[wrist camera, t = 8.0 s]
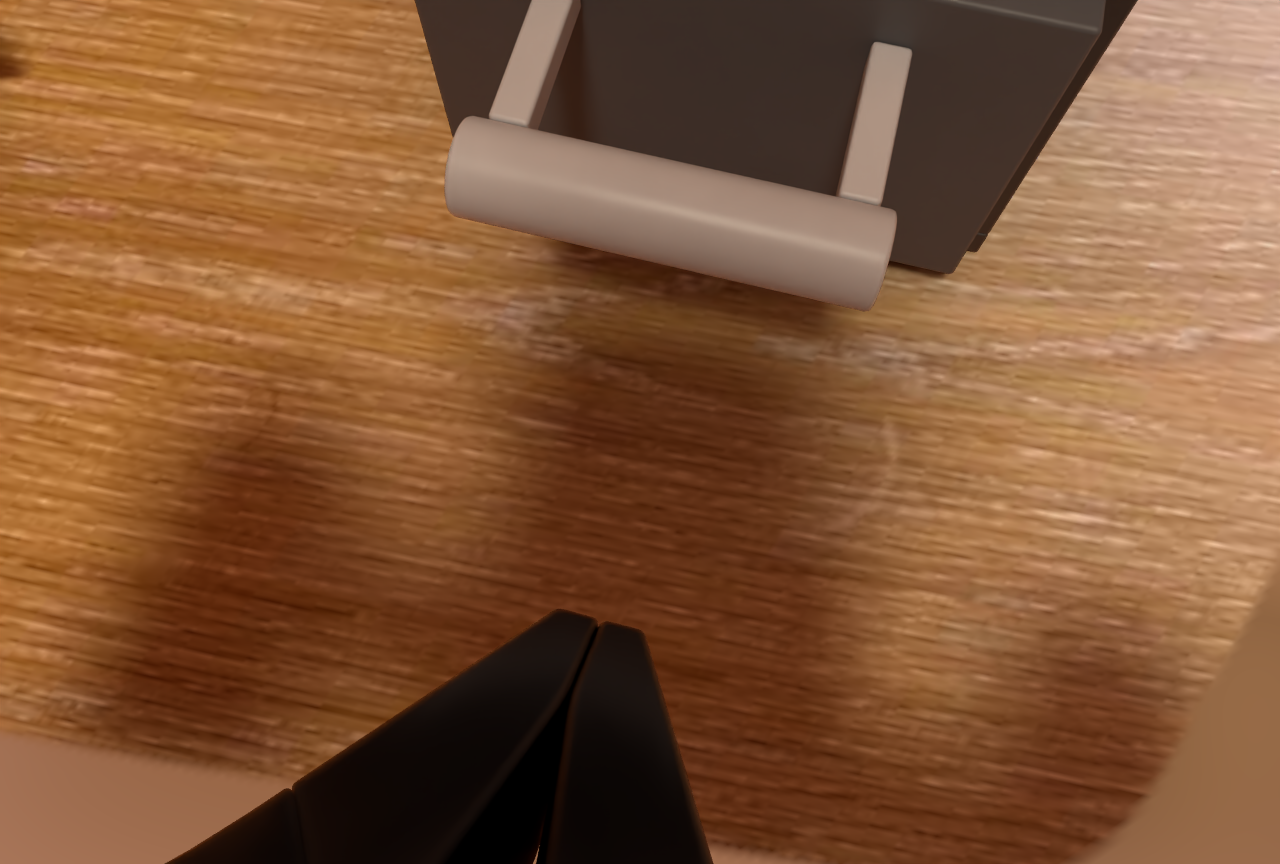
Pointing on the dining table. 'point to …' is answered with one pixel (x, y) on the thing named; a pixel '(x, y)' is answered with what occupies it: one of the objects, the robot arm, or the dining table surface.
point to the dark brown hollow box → (1059, 110)
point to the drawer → (751, 126)
